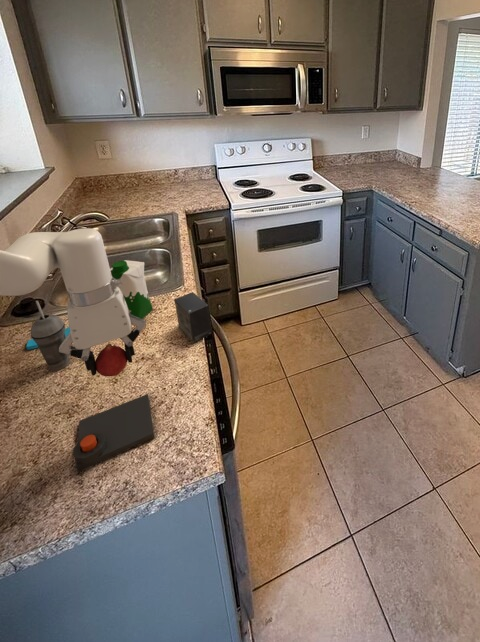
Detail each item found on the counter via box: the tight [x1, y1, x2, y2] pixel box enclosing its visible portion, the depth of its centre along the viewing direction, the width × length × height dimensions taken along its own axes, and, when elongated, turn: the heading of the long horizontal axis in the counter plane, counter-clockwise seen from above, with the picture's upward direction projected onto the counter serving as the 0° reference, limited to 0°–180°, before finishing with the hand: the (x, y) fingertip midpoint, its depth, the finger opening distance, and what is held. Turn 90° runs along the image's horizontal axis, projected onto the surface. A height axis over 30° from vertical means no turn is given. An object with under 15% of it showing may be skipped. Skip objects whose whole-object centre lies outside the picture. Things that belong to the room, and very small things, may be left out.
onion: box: [95, 343, 128, 377], centre depth 75 cm, size 6×6×8 cm
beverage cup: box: [30, 300, 71, 372], centre depth 94 cm, size 7×7×20 cm
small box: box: [173, 291, 213, 344], centre depth 108 cm, size 11×6×10 cm, turn 44°
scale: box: [72, 393, 155, 473], centre depth 78 cm, size 14×12×3 cm
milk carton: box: [110, 259, 154, 319], centre depth 115 cm, size 9×9×20 cm
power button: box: [80, 435, 97, 452], centre depth 72 cm, size 3×3×2 cm
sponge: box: [25, 326, 70, 351], centre depth 107 cm, size 2×12×6 cm
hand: (112, 364), depth 75 cm, fingers closed on onion, 6 cm apart
